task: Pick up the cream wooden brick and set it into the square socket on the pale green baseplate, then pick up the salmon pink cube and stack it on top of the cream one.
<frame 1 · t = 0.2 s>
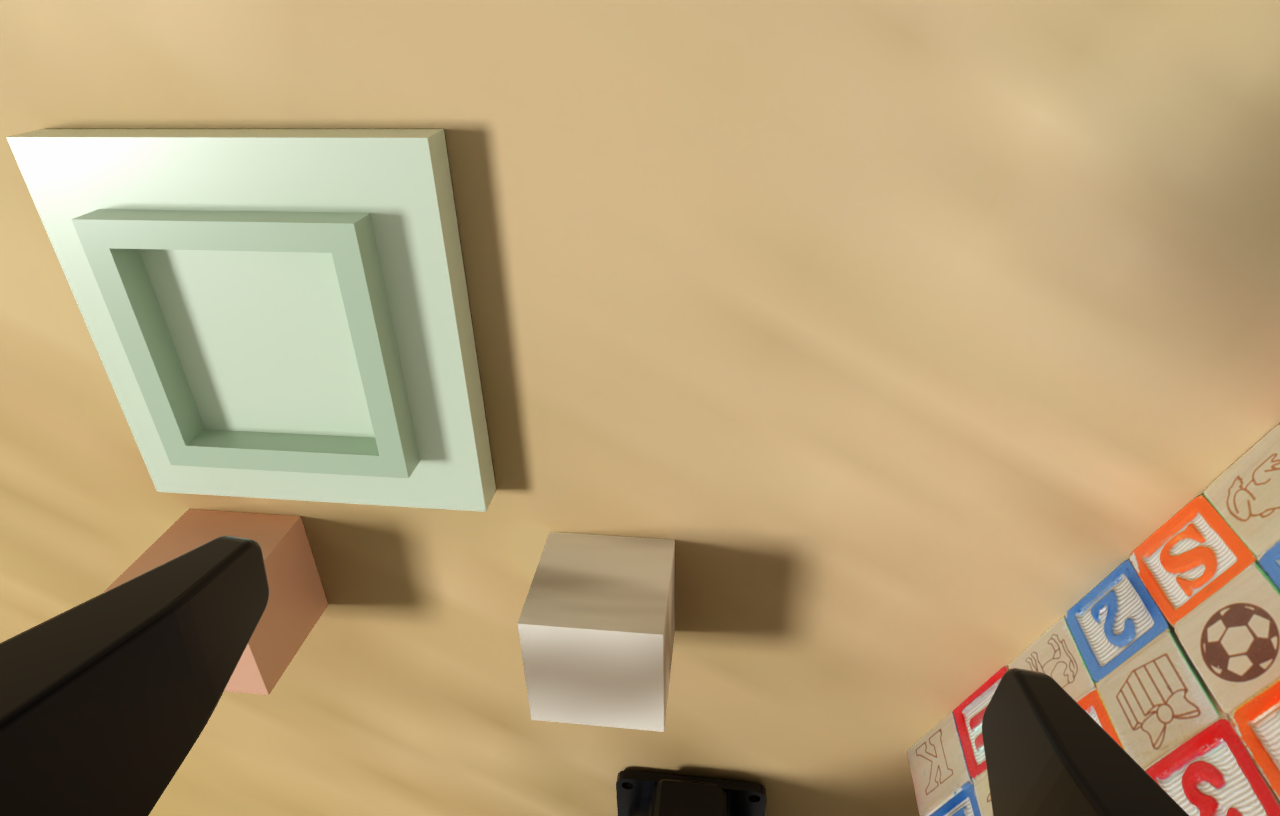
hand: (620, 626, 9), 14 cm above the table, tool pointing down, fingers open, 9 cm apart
baseplate: (290, 327, 24), on the table
cream brick: (614, 581, 28), on the table
salmon pink cube: (261, 556, 30), on the table
stack of blocks: (1162, 613, 26), on the table
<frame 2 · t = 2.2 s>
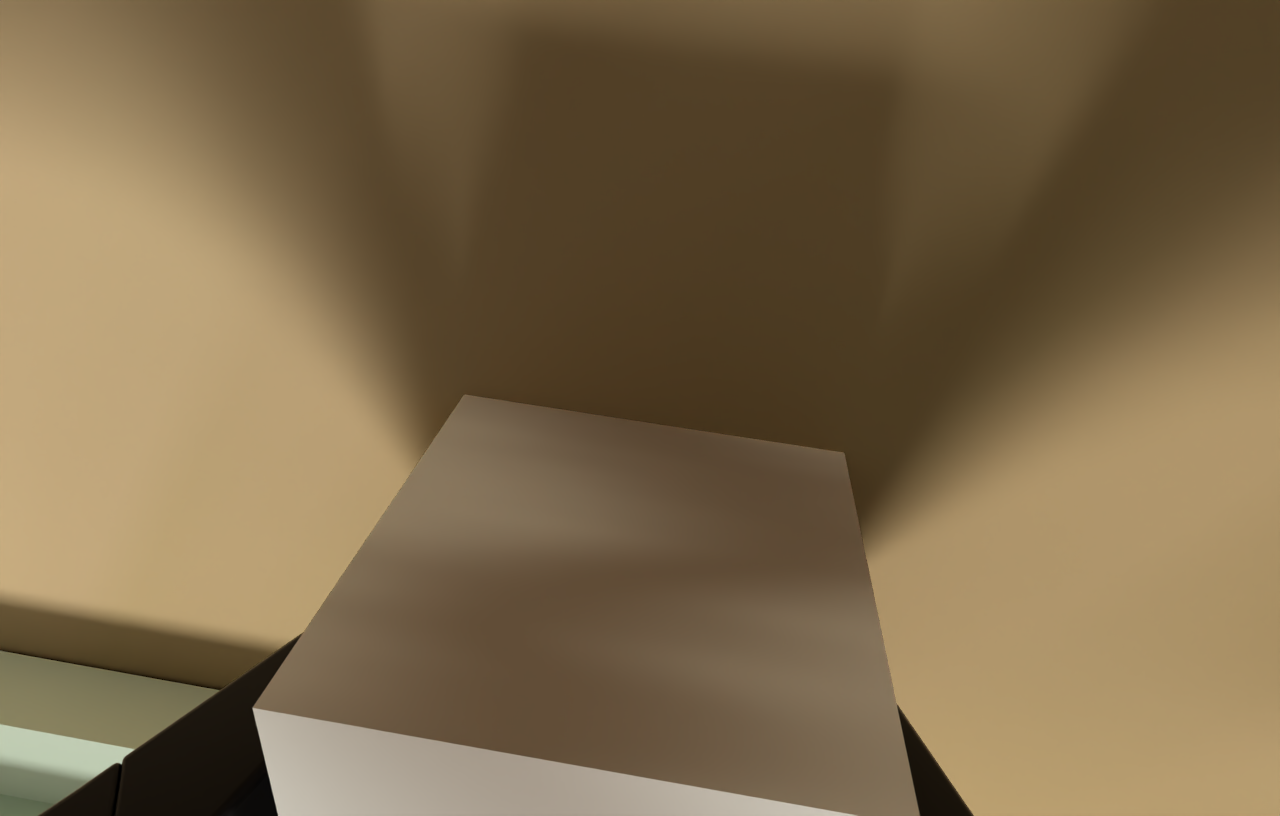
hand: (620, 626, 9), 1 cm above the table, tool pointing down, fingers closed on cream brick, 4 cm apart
cream brick: (633, 564, 10), on the table, touching gripper
when the fingers open (3 cm above the table, at t = 6.1 s): cream brick drops 1 cm, resting on baseplate.
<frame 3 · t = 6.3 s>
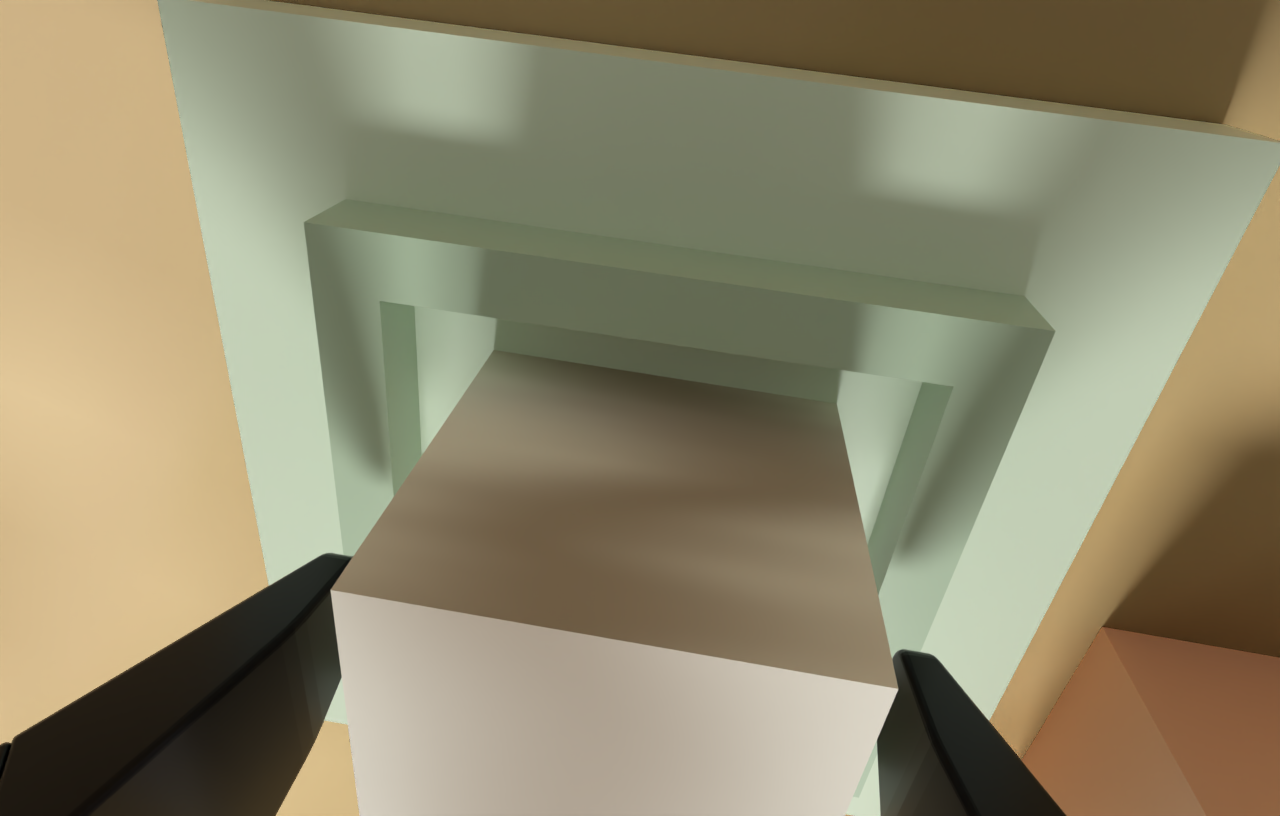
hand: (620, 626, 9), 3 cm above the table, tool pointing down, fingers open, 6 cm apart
baseplate: (649, 469, 12), on the table
cream brick: (643, 513, 11), point 1 cm above the table, touching baseplate
salmon pink cube: (1173, 734, 14), on the table
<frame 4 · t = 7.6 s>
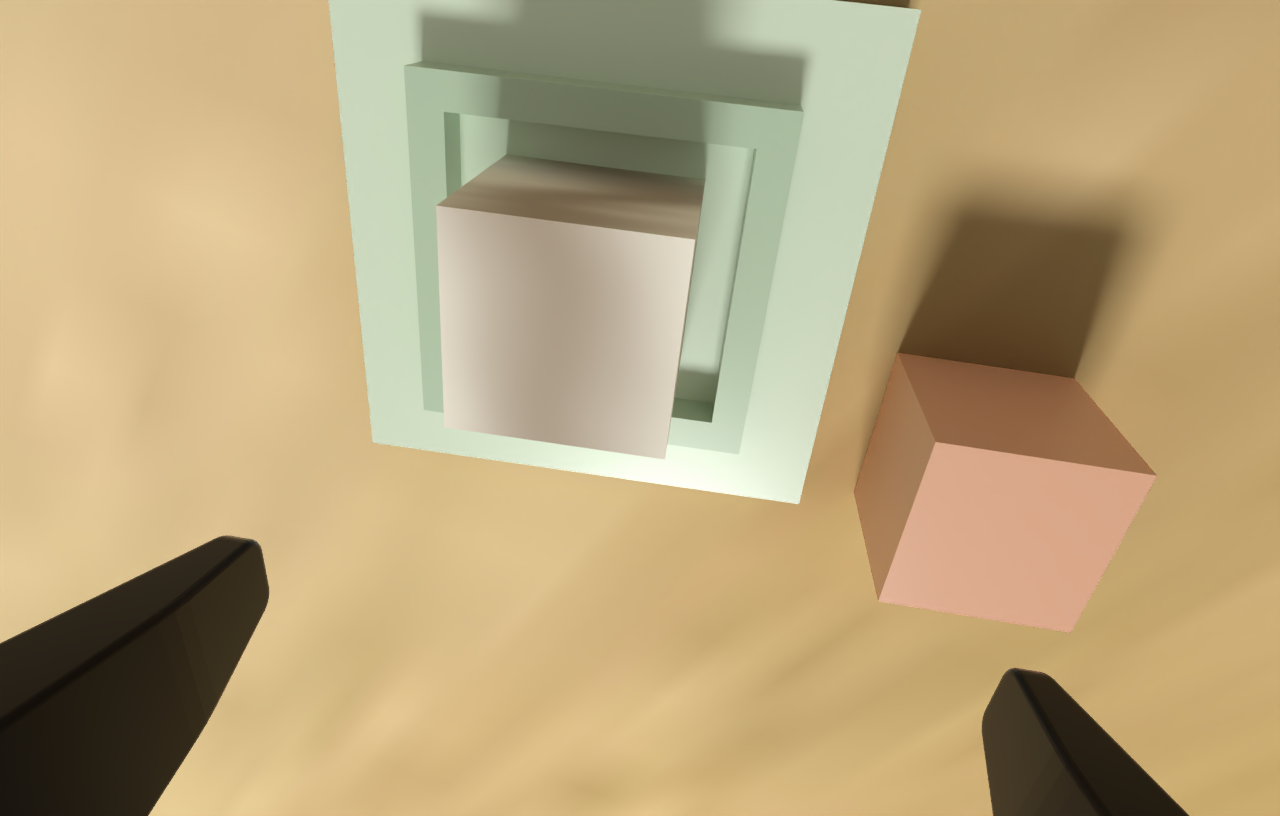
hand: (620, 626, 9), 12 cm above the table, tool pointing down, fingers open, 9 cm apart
baseplate: (604, 250, 19), on the table
cream brick: (598, 263, 18), point 1 cm above the table, touching baseplate
salmon pink cube: (956, 437, 21), on the table
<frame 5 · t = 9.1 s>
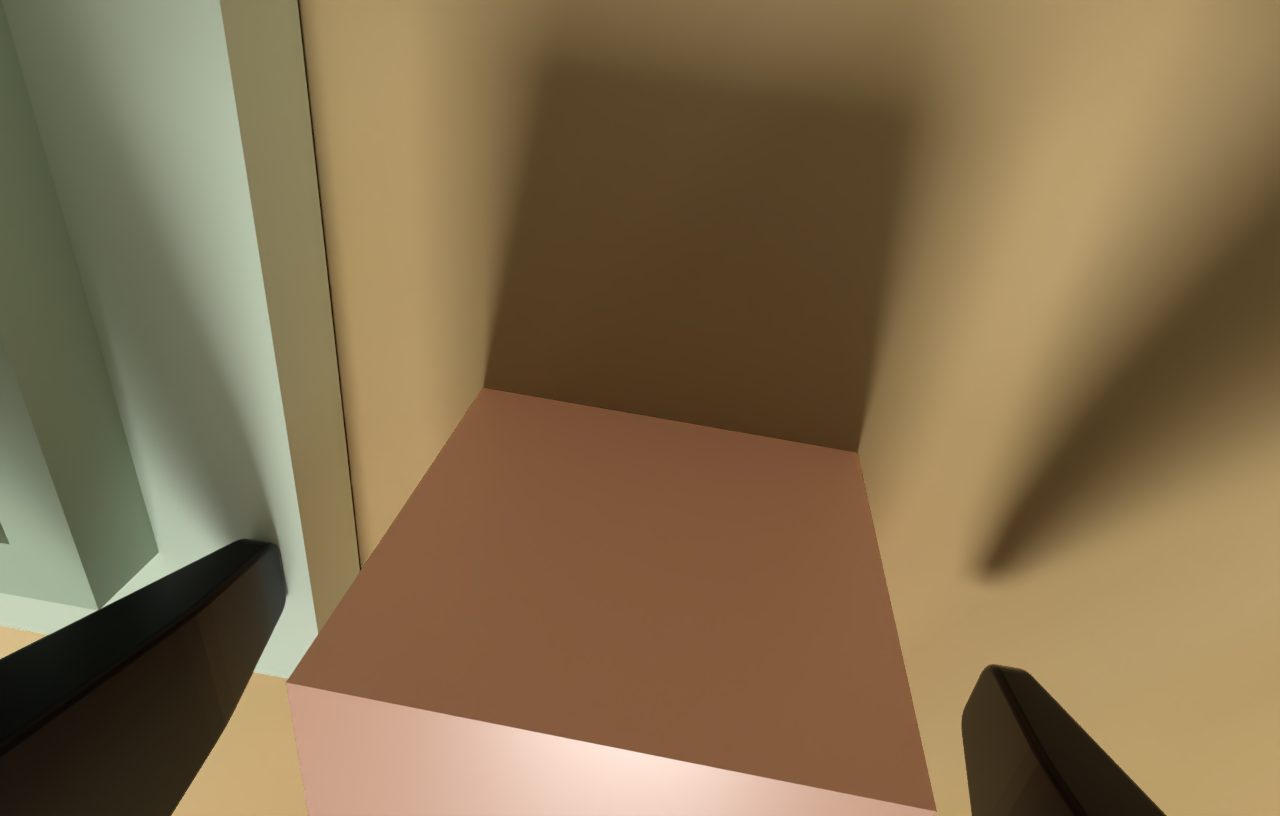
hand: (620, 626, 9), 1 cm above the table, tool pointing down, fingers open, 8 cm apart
salmon pink cube: (644, 558, 10), on the table
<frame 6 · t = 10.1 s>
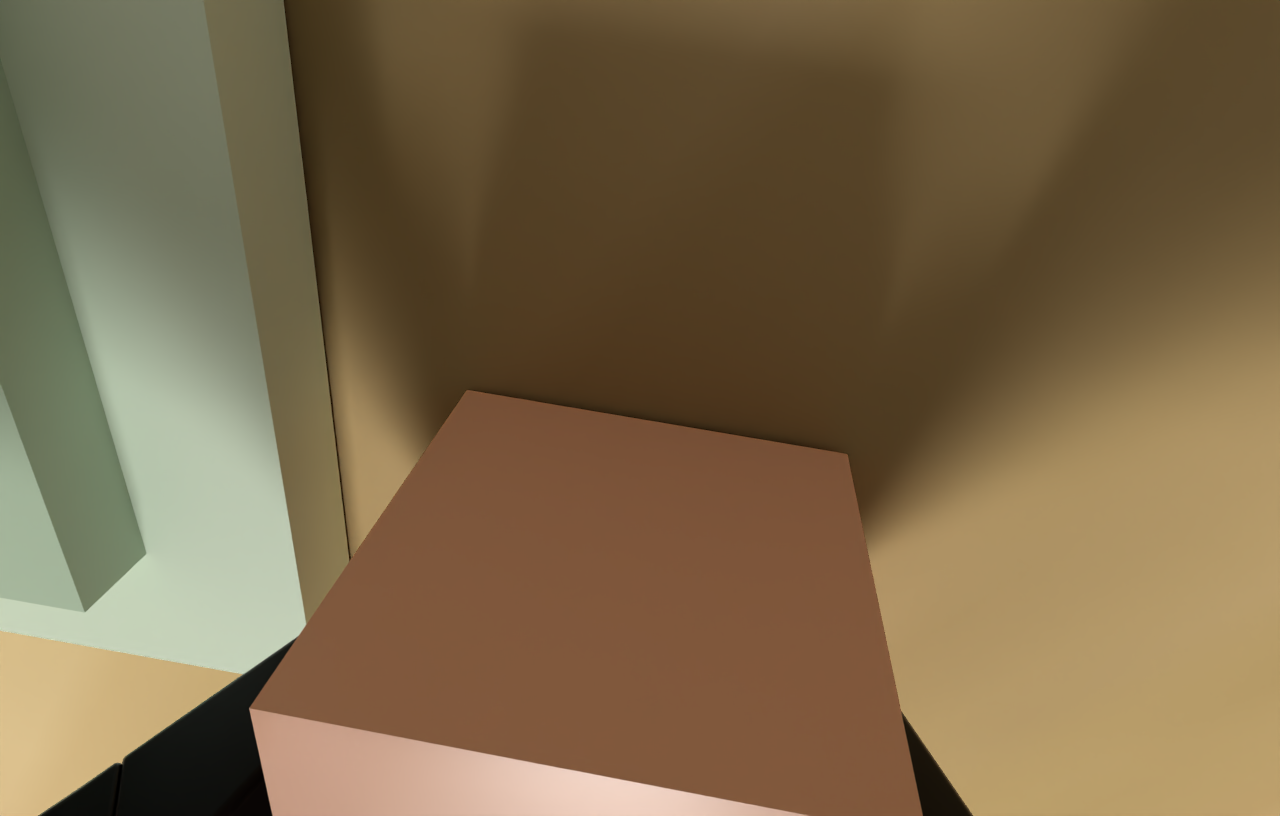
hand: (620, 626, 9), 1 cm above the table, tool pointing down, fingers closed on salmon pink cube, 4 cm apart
salmon pink cube: (632, 565, 10), on the table, touching gripper
when the fingers open (8 cm above the table, at t = 12.8 s): salmon pink cube drops 1 cm, resting on cream brick.
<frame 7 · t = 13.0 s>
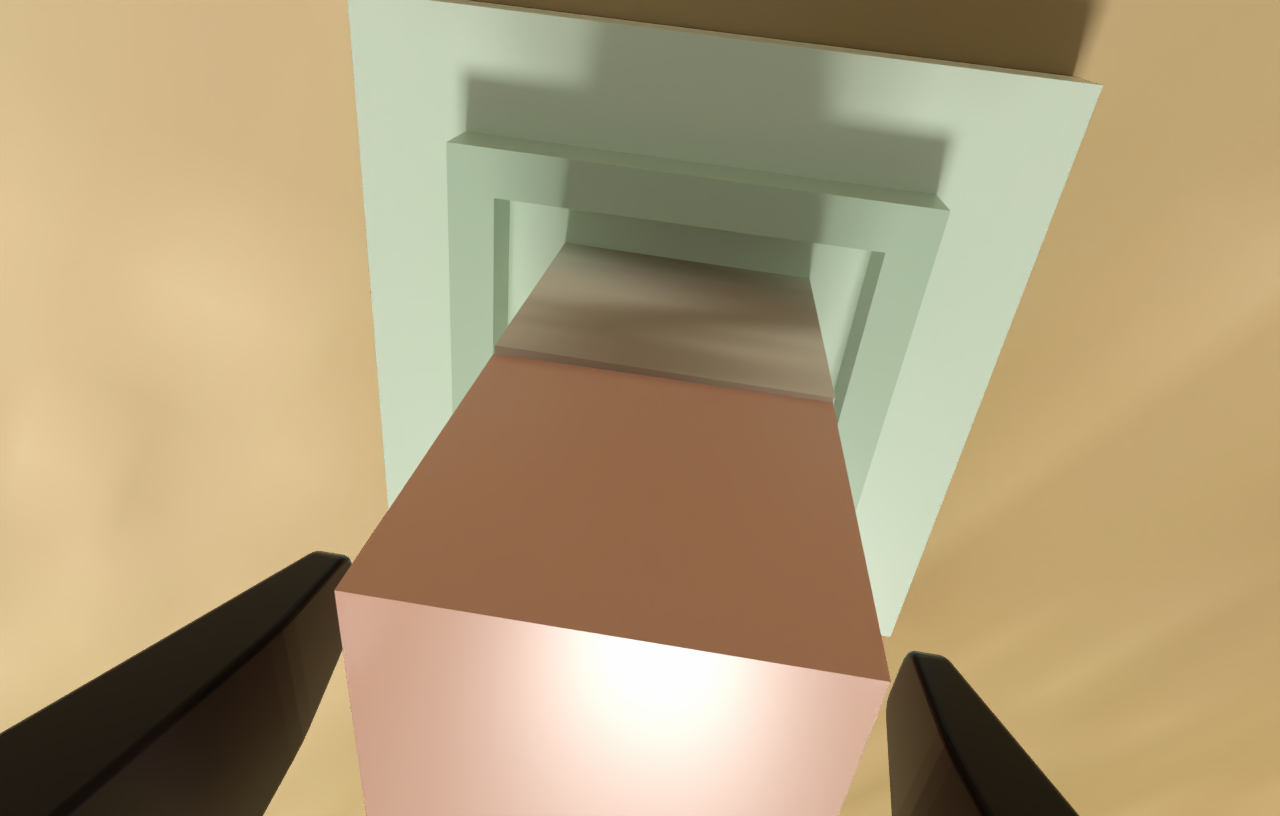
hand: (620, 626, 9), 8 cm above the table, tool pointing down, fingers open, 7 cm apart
baseplate: (673, 346, 16), on the table
cream brick: (670, 369, 15), point 1 cm above the table, touching baseplate, salmon pink cube
salmon pink cube: (643, 512, 11), point 6 cm above the table, touching cream brick
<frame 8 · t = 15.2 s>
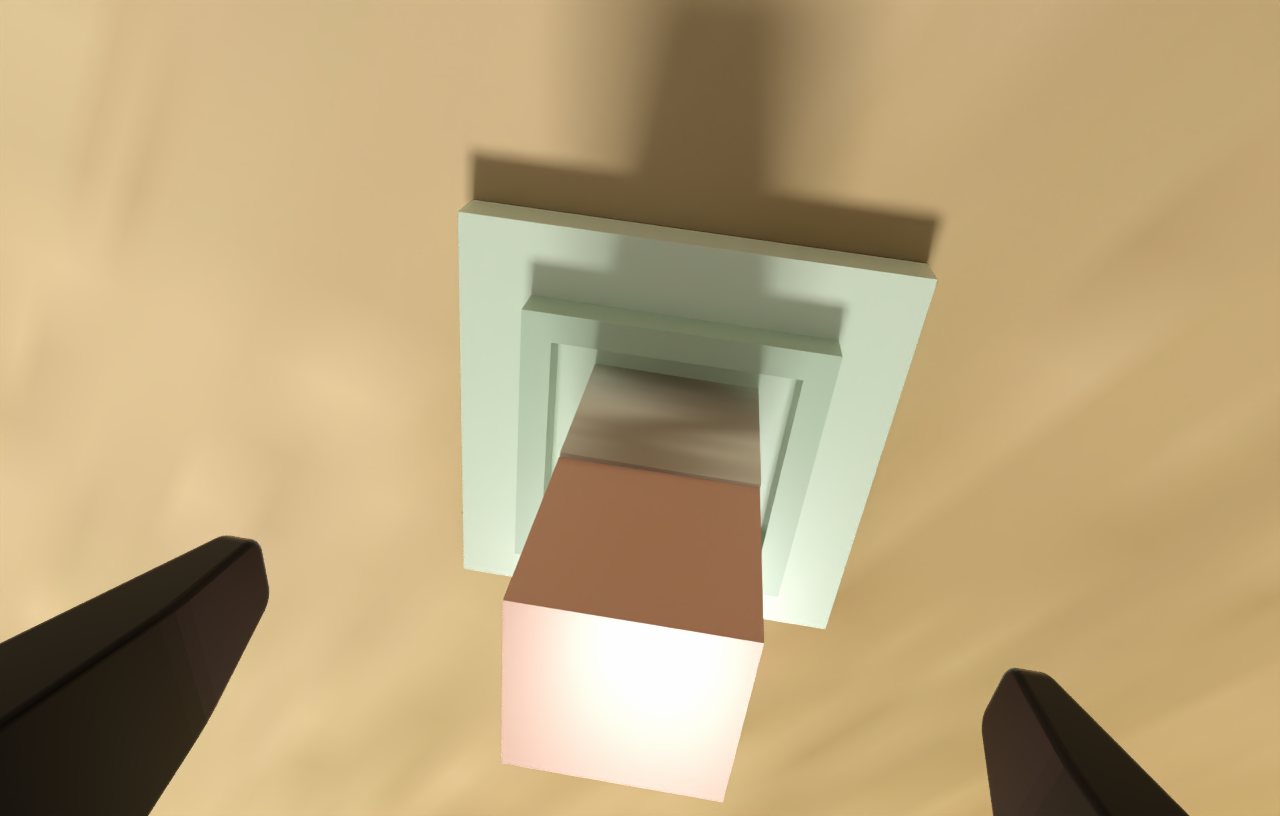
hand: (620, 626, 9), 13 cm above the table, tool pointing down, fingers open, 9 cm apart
baseplate: (668, 425, 23), on the table
cream brick: (665, 444, 22), point 1 cm above the table, touching baseplate, salmon pink cube
salmon pink cube: (648, 549, 18), point 6 cm above the table, touching cream brick
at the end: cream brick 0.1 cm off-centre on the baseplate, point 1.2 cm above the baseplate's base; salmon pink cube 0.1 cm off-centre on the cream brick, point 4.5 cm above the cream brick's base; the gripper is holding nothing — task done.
